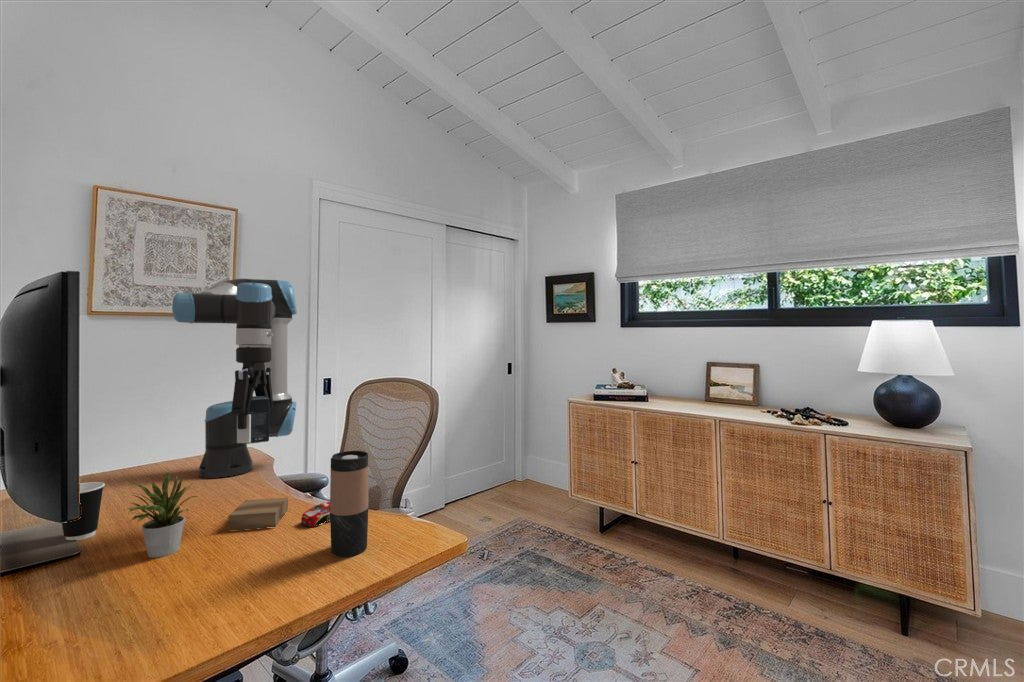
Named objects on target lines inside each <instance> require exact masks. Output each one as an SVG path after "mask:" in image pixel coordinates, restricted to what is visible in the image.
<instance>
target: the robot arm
mask: <svg viewBox="0 0 1024 682" xmlns="http://www.w3.org/2000/svg"><path fill="white" fill-rule="evenodd" d="M294 290H295V289H294V285H293V284H292V282H290V281H287V280H280V279H276V280H275V279H261V278H259V279H254V278H234V279H229V280H224V281H221V282H216V283H215V284H213V285H211V286H210V288H209V289H207V290H204V291H202V292H199V293H197V292H193V293H192V292H179V293H178V292H177V293H176V294H175V295H174V296H173V298H172V304H171V305H172V306H171V307H172V315H173V319H174V320H175V321H176V322H177V323H182V324H183V323H184V324H187V323H188V324H233V325H234V324H235V325H236V329H235V345H236V346H238V347H237V348H236V349H235V361H236V362H237V363H239V364H242V368H241V370H240V369H239V370H235V371H234V380H235V381H234V389H233V394H232V395H233V397H232V400H230V401H224V402H220V403H215V404H212V405H210V406H208V407H207V409H206V411H205V419H204V424H205V425H204V426H205V429H204V431H205V440H204V441H205V442H204V443H205V450H204V454H203V457H202V460H201V462H200V465H199V467H198V476H199V477H200V478H203V477H204V478H205V479H220V478H219V477H223V478H228V477H227V476H230V477H234V476H233V475H235V476H239V475H238V474H240V475H242V473H243V474H247V473H248V472H250V471H252V470H253V468H254V467H253V465H254V463H253V460H252V456H251V454H250V452H249V451H250V450H249V449H248V444H243V443H250V442H251V414H249V410H250V405H251V401H252V397H253V396H265V397H267V398H269V438H275V437H276V438H278V437H286V436H289V435H291V433H292V432H293V429H294V423H295V417H296V412H297V402H295V401H293V396H292V394H290V393H289V392H288V325H289V323H291V322H292V321H293V316H294V315H297V312H298V311H297V302H296V297H295V291H294ZM254 394H255V395H254ZM250 444H251V443H250ZM204 478H203V479H204Z"/></svg>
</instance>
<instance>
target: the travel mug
mask: <svg viewBox="0 0 1024 682" xmlns="http://www.w3.org/2000/svg"><path fill="white" fill-rule="evenodd" d="M329 483H330V484H329V485H330V486H329V488H330V490H329V492H330V493H329V494H330V495H329V498H330V499H329V502H330V522H329V523H330V548H331V550H330V552H331V554H332V555H333V556H335V557H338V558H350V557H351V558H352V557H355V556H358V555H360V554H362V553H364V552H365V551H366V549H367V548H368V534H369V532H368V529H369V526H368V525H369V454H368V452H366V451H362V450H346V451H340V452H337V453H334V454H333V455H332V456H331V458H330V482H329Z"/></svg>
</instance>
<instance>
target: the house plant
mask: <svg viewBox="0 0 1024 682" xmlns="http://www.w3.org/2000/svg"><path fill="white" fill-rule="evenodd" d="M173 475H174V473H171V474H170V475H169V472H168V471H166V472H165V474H164V476H163V480H162V484H161V485H162V487H161V489H160V488H159V487H158V485H157V484H156V483H155V482H154V481H152V482H151V486H152V487H151V488H152V492H151V491H150V490H149V489H148V488H147V487H145V486H143V485H142V484H139V483H137V482H136V483H135V482H131V484H133V485H136V486H137V487H139V488H141V490H142V491H143V492H144V494H146V496H147V497H146V496H144V495H142V494H139V493H135V492H132V495H133V494H136V495H135V497H136V498H137V499H138V498H139V499H140V500H141V501H143V502H144V503H145V504H144V505H141V504H139V503H136V502H135V503H134V502H130V504H132V505H134V506H131V507H128V508H126V509H124V510H128V512H127V515H129V514H130V515H131V512H132V511H136V510H141V512H143V513H144V514H143V513H140V512H138V514H136V515H135V516H133V517H132V518H131V519H130V521H129V522H130V523H131V522H132V521H134V520H136V519H138V520H137V523H136V524H138V523H140V522H141V521H143V520H144V519H146V518H148V519H149V521H147V522H145V523H144V524H142V526H141V529H142V535H143V538H144V543H145V548H146V552H147V556H148V557H149V558H152V559H153V558H154V559H157V558H163V557H167V556H170V555H172V554H175V553H176V552H178V551H179V550H180V545H181V540H182V535H183V531H184V525H185V521H186V518H185V516H183V515H180V514H182V513H183V512H185V511H186V512H187V513H189V508H187V509H184V510H180V509H181V505H183V503H186V501H188V500H189V499H192V498H195V497H199V496H198V495H193V496H192V495H191V496H190V497H187V498H186V499H184V500H183V501H181V503H180V504H179V505H178V503H179V500H181V498H182V496H183V495H184V494H185V493H186V491H187V490H189V488H190V487H191V486H192V485H193V484H194V482H192V483H190V485H189V486H186V487H184V488H183V489H182V490H181V487H182V482H183V477H181V478H180V480H179V479H178V478H179V476H178V475H176V476H175V480H174V482H173V485H172V486H173V487H172V489H171V492H170V495H169V492H168V491H169V483H170V480H171V479H172V477H173ZM178 481H179V482H178ZM123 483H125V484H126V483H127V484H130V482H125V481H124V482H123ZM123 494H124V495H125V494H126V492H122V493H119V495H123ZM138 495H139V496H138ZM126 497H128V495H127V496H125V498H126ZM142 497H144V498H145V499H146V500H148V501H150V502H151V503H152V504H149V503H148V502H147V501H146V500H145V499H144V498H142ZM148 497H149V498H148ZM148 511H149V512H148ZM157 512H158V513H157Z"/></svg>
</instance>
